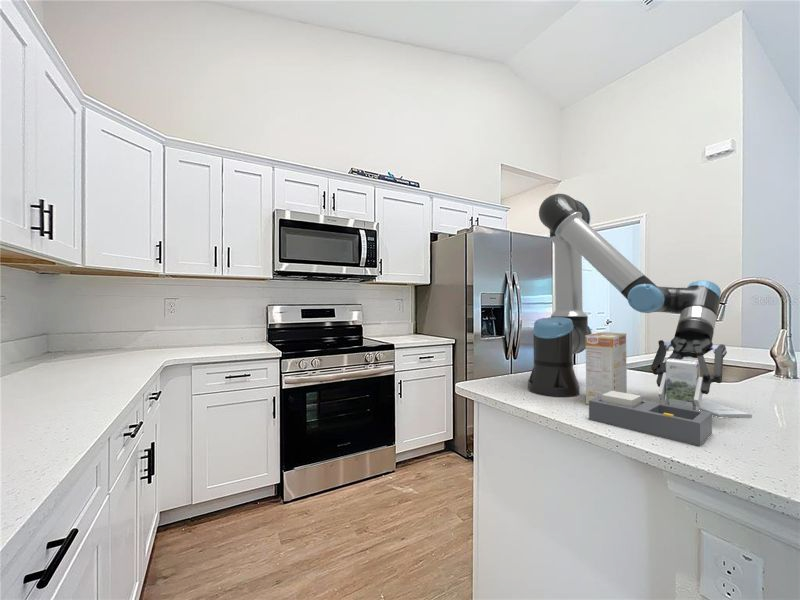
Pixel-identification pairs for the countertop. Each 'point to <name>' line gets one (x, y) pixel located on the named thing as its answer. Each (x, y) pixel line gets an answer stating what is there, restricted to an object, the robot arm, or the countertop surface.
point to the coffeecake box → (605, 364)
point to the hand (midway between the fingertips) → (678, 400)
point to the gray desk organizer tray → (651, 417)
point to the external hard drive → (722, 410)
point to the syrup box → (681, 382)
